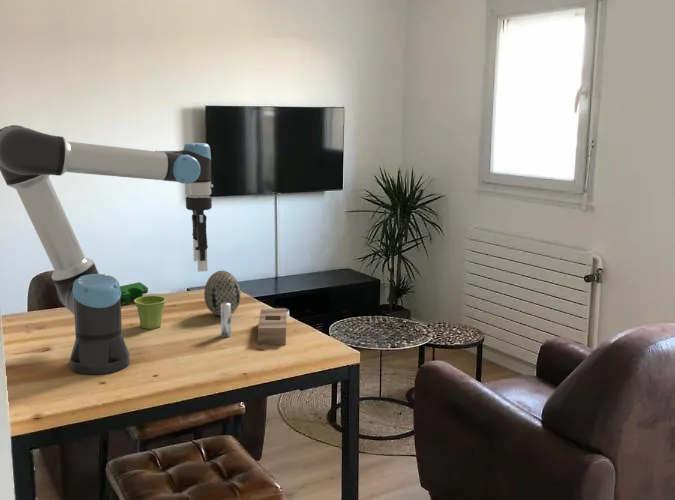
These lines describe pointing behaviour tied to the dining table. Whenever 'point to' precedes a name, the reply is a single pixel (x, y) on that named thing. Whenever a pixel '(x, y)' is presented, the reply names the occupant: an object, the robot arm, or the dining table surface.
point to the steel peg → (225, 319)
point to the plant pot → (150, 311)
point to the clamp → (132, 292)
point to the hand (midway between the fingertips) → (200, 266)
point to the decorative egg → (221, 292)
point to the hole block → (272, 327)
